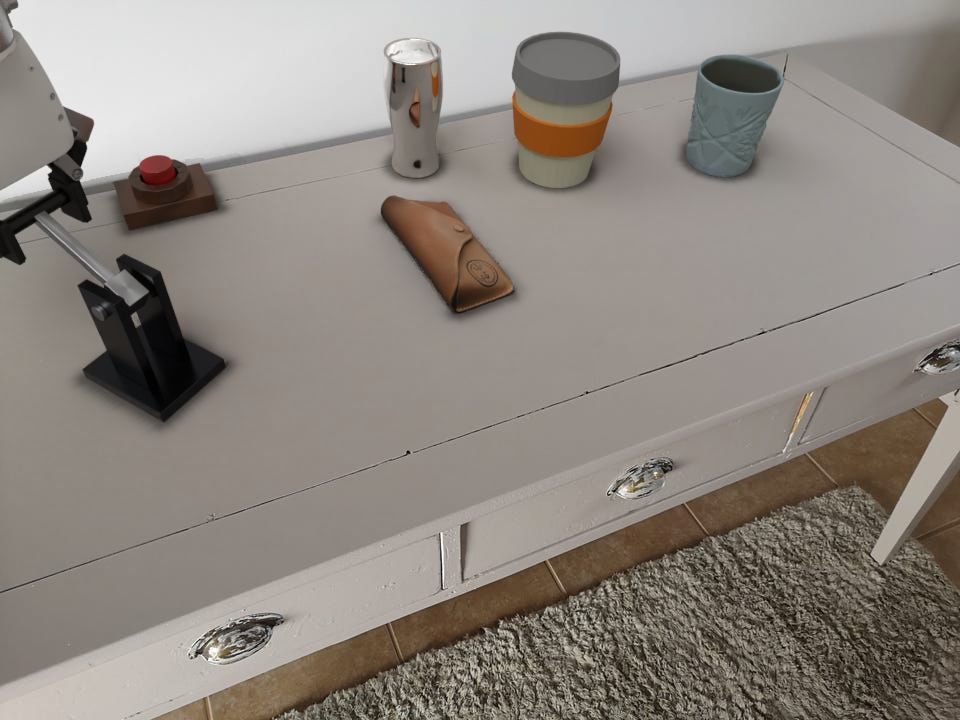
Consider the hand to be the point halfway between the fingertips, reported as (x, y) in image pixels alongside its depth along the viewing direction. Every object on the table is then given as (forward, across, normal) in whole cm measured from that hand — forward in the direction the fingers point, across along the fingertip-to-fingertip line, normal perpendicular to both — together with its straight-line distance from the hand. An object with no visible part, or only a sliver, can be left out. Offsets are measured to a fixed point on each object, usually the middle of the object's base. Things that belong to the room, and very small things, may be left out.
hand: (45, 235), depth 67 cm
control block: (+13, -20, -10) cm, 26 cm away
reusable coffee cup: (+13, -52, +25) cm, 59 cm away
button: (+9, -20, -10) cm, 24 cm away
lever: (+1, 0, +4) cm, 4 cm away
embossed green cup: (+13, -66, +42) cm, 79 cm away
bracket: (+13, 0, +9) cm, 15 cm away
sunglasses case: (+13, -30, +22) cm, 39 cm away
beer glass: (+13, -43, +10) cm, 46 cm away
